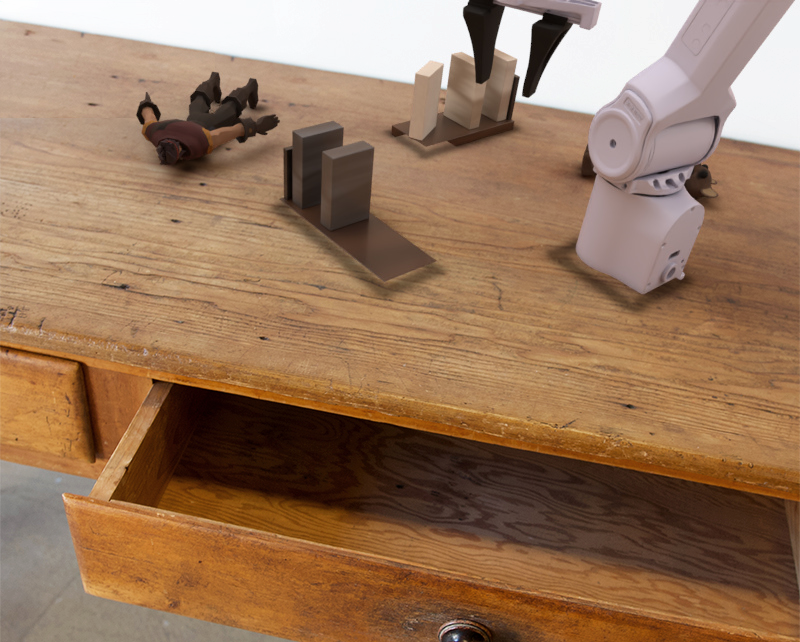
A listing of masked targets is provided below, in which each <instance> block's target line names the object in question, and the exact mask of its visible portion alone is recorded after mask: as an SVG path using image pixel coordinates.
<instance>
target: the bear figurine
mask: <svg viewBox="0 0 800 642" xmlns="http://www.w3.org/2000/svg"><path fill="white" fill-rule="evenodd" d="M581 161H582V162H581V168H580V173H581V175H582V176H597V173H595V172H594V171H593V168H594V165H593V163H592V161H591V158H590V154H589V149H588V143H587V144H586V147H585V150H584V152H583V155H582V160H581ZM712 185H718V181H717V180H716V179H715V178H713V177H712V173H711V171H710V169H709V165H708V164H705V163H700V164H697V165H694V168H693V171H692V173H691V176H690V178H689V179H686V181H685V183H684V187H685V189H686V190H687V192H688V193H689V194H690V196H691V197H692V198H694V199H702V198H704V197H706V198H709V199H716V198H718V197H719V193H717V192H716V191H715V190H714V189H713V188H712Z"/></svg>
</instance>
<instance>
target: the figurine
mask: <svg viewBox="0 0 800 642" xmlns="http://www.w3.org/2000/svg"><path fill="white" fill-rule="evenodd" d="M222 95H223V92H222V88H221V77H220V72H219V71H218V72H217V71H211V73H210V76H209V78H208V79H207V80H205V81H202V82H201V83H200V84H199V85H198V86H197V87H196V88H195V90H194V91H193V93H191V94H190V96H189V100H190V104H188V116H187V117H186V120H183V119H180V118H179V119H178V118H172V119H164V120H161V116H162V113H161V110H160V109H159V107H158V105H157V104H156V103H154V102H153V101H152V99H151V96H150V94H149V92H148V91H145V97H144V99H143V100H141V101H140V102H139V105H138V106H137V111H136V114H135V116H136V118H137V120H138V121H139V124H140V125H142V128H141V134H142V136H143V137H144V138H145V140H146V141H147V142H149V143H151V145H153V146H154V147H155V150H156V152H157V158H158V160H159V161H160V163H159V165H163V166H168V165H169V166H170V165H171V166H173V165H176V164H177V162H178V160H180V161H184V160H186V161H190V160H197V159H200V158H202V157H204V156H206V155H211V154H212V153H213V150H214V149H216V148H218V147H219V146H220V145H225V144H227V143H229V142H232V141H233V140H236V141H237V142H238V143H239V144H244V143H246V142H247V141H248V139H249V138H253V137H256V135H257V134H258V135H261V136H267V135H269V131H272V130H274V129H275V128H277V127H278V125H279V123H280V122H281V121H280V119H279V116H277V114H276V113H273V114H266V115H261V117H258V118H257V119H256V121H255V120H254V119H253V118H252V117H245V118H243V117H242V118H241V116H242V115H243V112H244V110H245V109H246V108H247V107H248V106H249V108H250V109H256V108H257V105H258V103H259V101H260V100H259V84H258V80H257V78H253V77H249V78H248V82H247V83H246V85H244V86H241V87H236V88H235V89H233V90H231V91H230V93H229V94H228V95H226V96H225V97H224V98H223V99H222ZM221 99H222V100H221ZM214 102H217V103H220V104H221V105H220V106H219V107H218V108H217V109H216V110H215V111H214V112H212V113H211V112H210V110H211V109H212V108H211V107H212V106H211V105H212V103H214ZM247 103H248V104H247Z"/></svg>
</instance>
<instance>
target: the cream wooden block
mask: <svg viewBox="0 0 800 642" xmlns="http://www.w3.org/2000/svg"><path fill="white" fill-rule="evenodd" d="M444 67H445V64H444V62H443V63H442V62H439V61H435V60H429V61H428V62H427V63H425V64H424V65H423V66H422V67H421V68H420V69H419V70H417V71H416V72H415V73H414V82H413V83H414V84H413V91H412V92H413V93H412V102H411V111H410V120H409V121H410V129H409V136H408V138H409V139H413V138H414V139H417V140H421V141H422V140H423V139H424V138H425V137H426V136H427V135H428V134H429V133H430V132H431V131H432V130H433V129H434V127H435V126H436V121H437V113H439V104H440V97H441V90H442V83H443V75H444ZM414 139H413V140H414Z"/></svg>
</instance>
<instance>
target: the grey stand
mask: <svg viewBox="0 0 800 642" xmlns="http://www.w3.org/2000/svg"><path fill="white" fill-rule="evenodd" d="M344 129H345V128H344V126H343V125H341V124H340V123H338V122H337V121H335V120H330V121H326V122H322V123H318V124H314V125H309V126H306V127H302V128H298V129H294V130H292V131H291V134H292V137H291V138H292V140H291V141H292V142H291V144H292V145H288V146H285V147H283V149H282V152H283V153H282V154H283V155H282V158H283V159H282V160H283V161H282V162H283V163H282V164H283V197H279V198H278V199H279V201H281V202H282V204H285V205H286V206H287V207H288V208H289V209H291V210H292V211H293V212H295V213H296V214H297V215H299V216H300V217H301V218H302V219H304V221H306V222H307V223H308V224H309V225H311V226H312V227H314V228H315V229H316V230H318V231H319V232H320V233H322V234H323V236H325V237H326V238H328V239H329V240H330V241H331V242H333V243H334V244H335V245H336V246H337V247H339V248H340V249H341V250H343V251H344V252H345V253H346V254H348V255H349V256H350V257H352V258H353V259H354V260H355V261H356V262H358V263H359V264H360V265H361V266H362V267H364V268H365V269H367V270H368V271H369V272H371V273H372V274H373V275H374V276H376V277H377V278H378V279H380V280H381V281H382V282H383V283H386V282H388V281H390V280H391V281H392V280H393V279H396V278H398V277H401V276H403V275H406V274H408V273H410V272H413V271H416V270H418V269H420V268H424V267H426V266H428V265H431V264H433V263H436V262H437V259H435V258H434V257H432V256H431V255H430V254H428V253H427V252H425V251H424V250H422V249H421V248H420V247H419V246H417V245H415V244H414V242H412V241H410V240H409V239H407V238H406V237H405V236H403V235H402V234H401V233H399V232H398V231H397V230H395V229H394V228H392V227H391V226H390V225H388V224H387V223H386V222H384V221H382V220H381V219H380V218H378V217H377V216H376V215H374V214H373V213H372V212H371V199H372V186H373V172H374V160H375V158H374V157H375V147H374V146H373V145H372V144H371V143H368V142H367V141H366V140H359V141H356V142H352V143H348V144H344V134H345V132H344V131H345V130H344Z"/></svg>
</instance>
